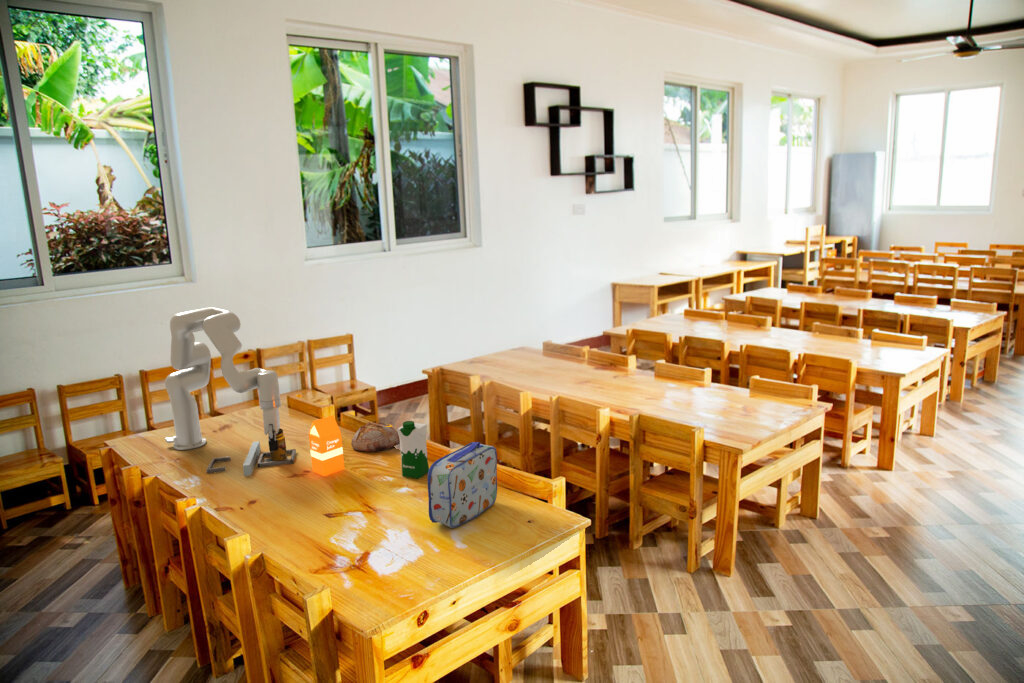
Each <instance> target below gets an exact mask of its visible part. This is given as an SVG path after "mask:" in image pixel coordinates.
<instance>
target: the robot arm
mask: <svg viewBox="0 0 1024 683" xmlns="http://www.w3.org/2000/svg"><path fill="white" fill-rule="evenodd" d="M240 329H241V320H240V318H239V316H238V315H236V314H235V313H234V312H232V311H229V310H226V309H222V308H217V307H211V306H209V307H203V308H199V309H193V310H187V311H184V312H179V313H175V314H174V315H173V316H171V319H170V321H169V330H170V335H171V336H170V337H171V338H170V339H171V341H170V357H169V358H170V365H171V367H172V368H173V369H174V370H177V371H175V372H171V373H170V374H168V375H167V377H165V379H164V385H165V389H166V392H167V395H168V398H169V402H170V406H171V413H172V419H173V425H174V432H175V435H174V436H173V437H171V436H169V437H165V438H164V440H165V443H167V444H171V443H173V445H172V448H173V449H175V450H177V451H185V450H193V449H197V448H200V447H202V446H204V445H206V443H207V438H205V437H202V431H201V423H200V418H199V417H200V416H199V409H198V403H197V401H196V399H195V398H194V397H193V395H192V394H191V392H194V391H197V390H200V389H202V388H205V387H207V385H208V384H209V382H210V374H211V362H212V356H211V350H210V348H209V346H208V345H207V344H206V343H204V342H201V341H200V342H199V341H196V342H195V340H196V339H195V334H194V333H196V332H197V333H198V332H202V331H203V332H204V333H205V335H206V337H208V339H209V341H210V342H211V343H212V345H213V346H214V347H215V348H216V350H217V351H218V353H219V354H220V356H221V360H220V368H221V373H222V376H223V378H224V380H225V381H226V383H227V384H228V385H229V387H230V388H231V389H232V390H233V391H234V392H236V393H237V394H238V393H239V394H243V393H248V392H250V391H252V390H255V389H257V392H258V393H257V394H258V402H259V407H260V408H259V409H260V410H262V418H263V419H262V420H263V430H264V431H263V432H264V435H265V436H267V439H268V441H267V442H268V448H269V449H268V450H269V452H270V451H275V450H278V441H277V440H276V434H277V433H278V432H279V429H281V421H280V411H279V408H280V407H282V401H281V395H280V394H281V393H280V387H279V386H280V385H279V379H278V373H277V371H275V370H273V369H272V370H267V369H264V368H260V367H254V368H251V369H248V370H245V371H241V372H239V371H238V369H237V368H236V367H235V364H234V361H233V360H234V359H233V358H234V356H236V355H237V354H238V353H239V352H240V350H241V349H242V346H243V345H242V342H241V341H240V339H238V337H237V335H236V334H235V333H236V332H239V330H240Z"/></svg>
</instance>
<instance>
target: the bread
mask: <svg viewBox="0 0 1024 683" xmlns="http://www.w3.org/2000/svg"><path fill="white" fill-rule="evenodd" d="M385 426H390V425H389V424H385V423H382V422H367V423H366V424H364V425H363V426H360V427H359V428H358V430H357V431H356V432H355V434H354V436H352V439H351V441H350V442H351V447H352V448H353V449H354V450H355V451H361V452H368V453H380V452H384V451H387V450H389V449H392V448H394V447H395V446H398V445H400V438H399V434H398V431H397V430H396V428H395V427H393V426H391V427H385Z"/></svg>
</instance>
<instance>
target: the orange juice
mask: <svg viewBox="0 0 1024 683" xmlns="http://www.w3.org/2000/svg"><path fill="white" fill-rule="evenodd" d="M341 432H342V431H341V429H340V428H339V426H338V423H337V420H336V418H335V416H334V415H329V416H326V417H323V418H319V419H316V420H313V421H312V423H311V426H310V429H309V432H308V439H309V448H310V449H309V450H310V451H309V453H310V459H311V466H312V467H311V468H312V472H314V473H315V474H317V475H320V476H322V477H327V476H329V475H331V474H335V473H338V472H340V471H343V470H344V469H345V459H344V450H343V442H342V441H343V440H342V433H341Z"/></svg>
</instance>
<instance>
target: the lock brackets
mask: <svg viewBox="0 0 1024 683" xmlns="http://www.w3.org/2000/svg"><path fill="white" fill-rule="evenodd" d="M286 451H287V455H291V456H290V458H289V459H288V460H279V461H271V462H265V461H264V460H263V459H265V458H267V457H268V458H270V457H271V456H270V451H265V452H260V454H259V456H258V459H257V462H256V467H257V468H267V467H275V466H285V465H291V464H292V465H293V464H294V462H295V458H296V454H297V449H296V448H293V449H286ZM210 460H211V461H210V462H209V463H208V466H207V467H206V470H205V472H206V474H207V473H208V474H215V473H214V472H216V473H224V472H223V471H225V472H226V466H221V467H219V466H218V467H214V466H215V464H216V463H223V462H225V463H226V462H231V456H230V455H229V456H221V457H213V458H211V459H210ZM215 462H216V463H215Z"/></svg>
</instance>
